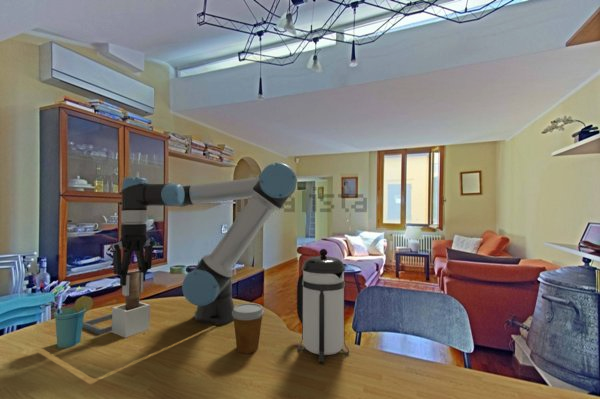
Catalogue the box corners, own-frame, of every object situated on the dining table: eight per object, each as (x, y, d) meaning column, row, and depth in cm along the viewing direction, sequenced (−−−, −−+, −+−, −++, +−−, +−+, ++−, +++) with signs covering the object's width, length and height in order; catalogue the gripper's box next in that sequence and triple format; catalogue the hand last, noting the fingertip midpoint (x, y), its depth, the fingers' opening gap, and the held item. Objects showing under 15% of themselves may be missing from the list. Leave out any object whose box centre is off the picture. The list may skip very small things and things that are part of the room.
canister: (149, 331, 98) (150, 304, 98) (125, 340, 91) (126, 311, 91) (135, 326, 102) (136, 300, 102) (111, 335, 95) (112, 307, 95)
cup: (47, 362, 78) (49, 305, 78) (28, 357, 80) (30, 302, 81) (98, 340, 91) (99, 292, 92) (80, 336, 94) (82, 289, 94)
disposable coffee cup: (270, 348, 87) (270, 307, 87) (243, 359, 80) (244, 315, 80) (250, 338, 93) (251, 300, 94) (224, 348, 86) (225, 307, 87)
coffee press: (350, 341, 91) (350, 246, 93) (347, 368, 76) (347, 253, 77) (297, 335, 95) (297, 244, 97) (283, 360, 80) (284, 250, 81)
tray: (137, 325, 103) (137, 318, 103) (100, 338, 93) (100, 330, 93) (118, 318, 109) (118, 312, 109) (81, 330, 99) (82, 322, 99)
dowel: (141, 320, 97) (142, 272, 98) (129, 324, 94) (130, 274, 94) (134, 318, 99) (135, 271, 100) (122, 321, 96) (123, 273, 96)
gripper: (151, 222, 107) (150, 286, 106) (100, 224, 92) (98, 298, 91) (163, 222, 103) (162, 289, 102) (113, 224, 88) (111, 302, 88)
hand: (132, 293), depth 97 cm, fingers closed on dowel, 4 cm apart
